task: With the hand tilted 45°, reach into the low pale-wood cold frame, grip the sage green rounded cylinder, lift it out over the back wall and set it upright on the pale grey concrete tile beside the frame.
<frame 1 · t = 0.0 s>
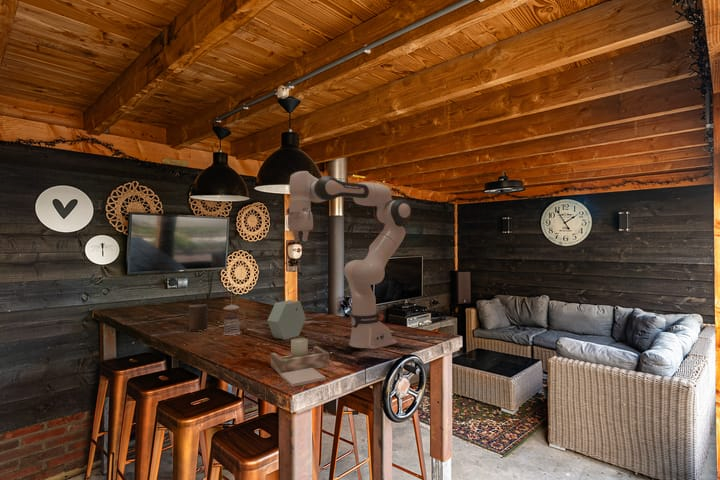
hand: (300, 241, 164), 48 cm above the table, tool pointing down, fingers open, 8 cm apart
sage green rounded cylinder: (299, 366, 148), resting in cold frame
grey-green faceted block: (287, 336, 196), on the table
concrete tile: (302, 378, 135), on the table
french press: (233, 333, 205), on the table
pillar candle: (198, 330, 214), on the table
cold frame: (300, 366, 148), on the table
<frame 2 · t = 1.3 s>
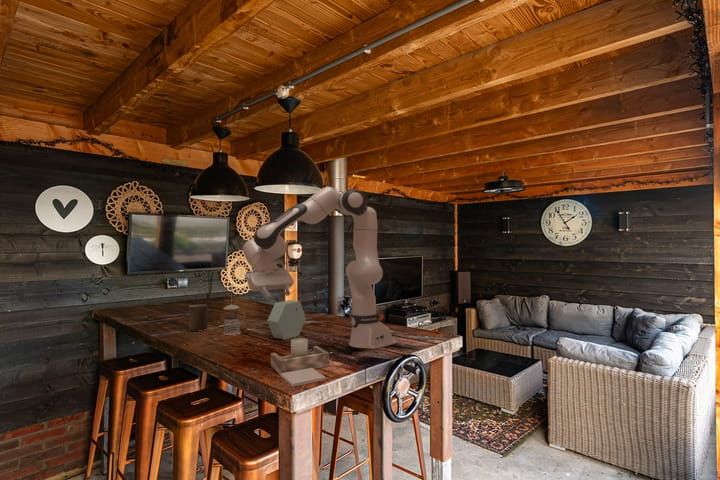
hand: (279, 295, 157), 26 cm above the table, tool tilted 45°, fingers open, 8 cm apart
nothing on the table moved.
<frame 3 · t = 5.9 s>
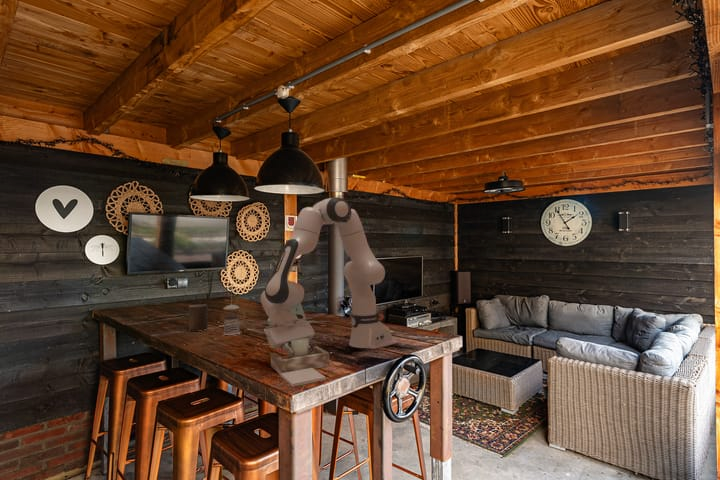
hand: (300, 351, 148), 6 cm above the table, tool tilted 45°, fingers closed on sage green rounded cylinder, 6 cm apart
sage green rounded cylinder: (299, 365, 148), resting in cold frame, touching gripper
everything else where it was.
when the fingers open (8 cm above the table, at t = 11.4 s): sage green rounded cylinder drops 1 cm, resting on concrete tile.
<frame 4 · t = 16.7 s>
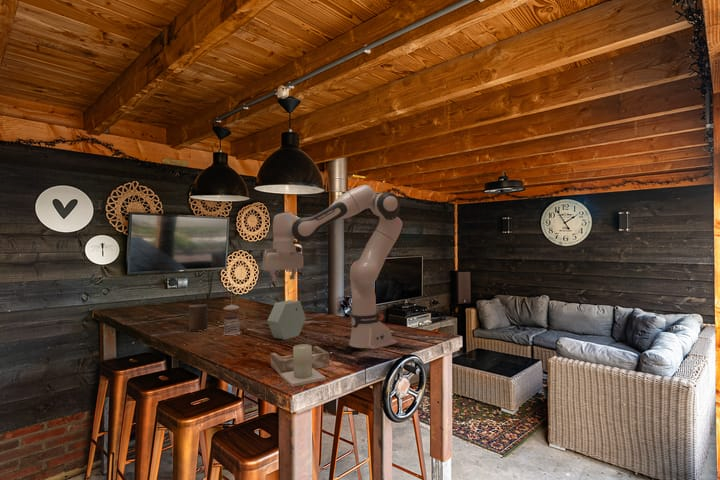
hand: (283, 280, 170), 31 cm above the table, tool pointing down, fingers open, 8 cm apart
sage green rounded cylinder: (302, 375, 135), point 1 cm above the table, touching concrete tile
everything else where it was.
at the end: sage green rounded cylinder 0.1 cm off-centre on the concrete tile, point 1.0 cm above the concrete tile's base; sage green rounded cylinder tilted 0°; the gripper is holding nothing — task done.
